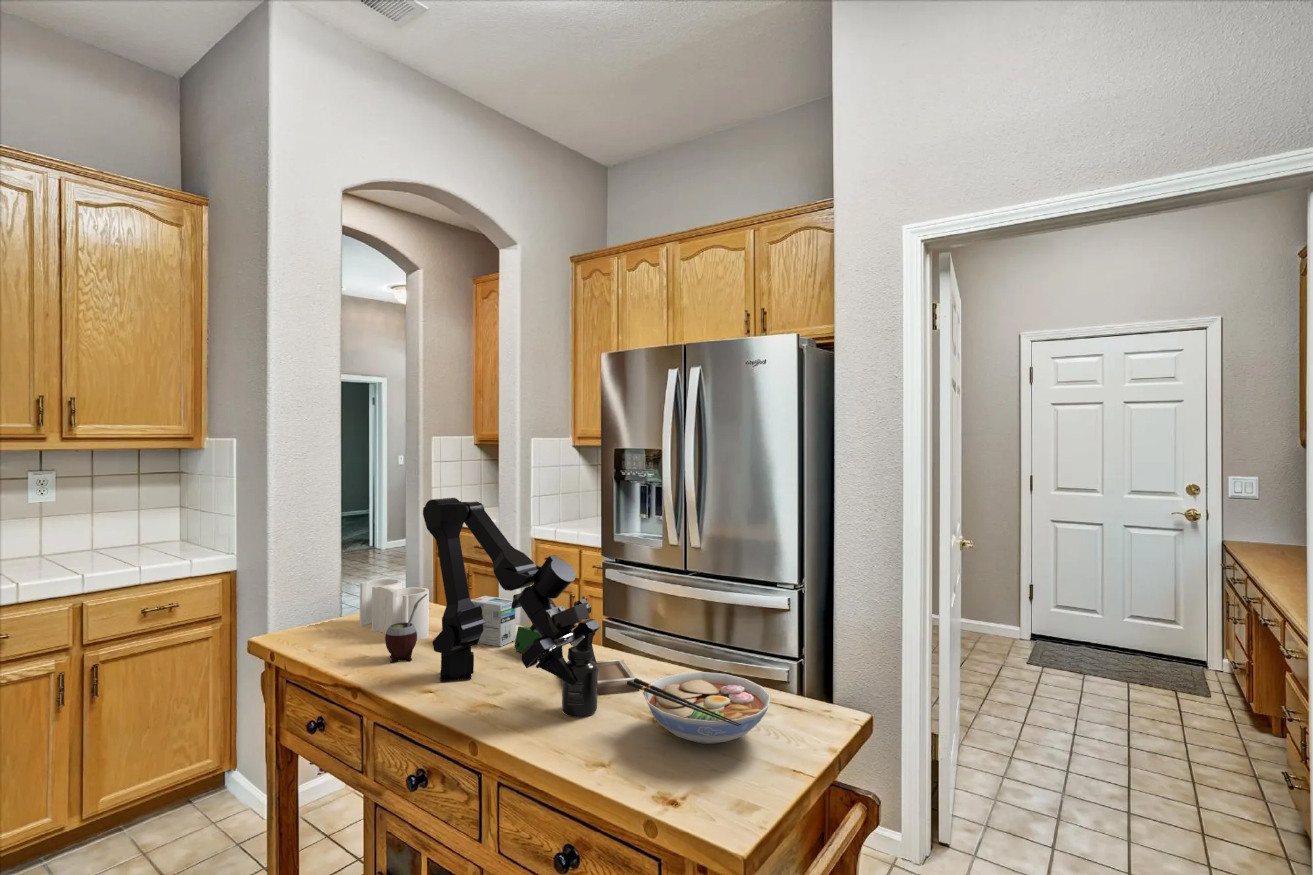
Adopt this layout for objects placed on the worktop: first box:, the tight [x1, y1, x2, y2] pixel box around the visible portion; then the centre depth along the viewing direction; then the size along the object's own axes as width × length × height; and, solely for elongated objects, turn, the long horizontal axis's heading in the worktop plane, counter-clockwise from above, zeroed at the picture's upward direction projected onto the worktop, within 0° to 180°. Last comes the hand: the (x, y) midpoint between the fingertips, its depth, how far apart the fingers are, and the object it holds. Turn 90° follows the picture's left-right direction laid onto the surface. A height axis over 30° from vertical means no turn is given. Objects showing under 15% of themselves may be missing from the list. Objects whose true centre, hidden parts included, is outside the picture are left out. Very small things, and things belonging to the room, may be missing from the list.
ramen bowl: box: [627, 671, 771, 745], centre depth 117 cm, size 25×23×8 cm
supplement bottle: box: [561, 646, 598, 718], centre depth 127 cm, size 7×7×12 cm
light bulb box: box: [470, 595, 517, 647], centre depth 169 cm, size 11×7×11 cm, turn 65°
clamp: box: [514, 626, 541, 653], centre depth 161 cm, size 12×6×9 cm, turn 42°
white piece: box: [359, 577, 430, 642], centre depth 177 cm, size 25×10×12 cm, turn 49°
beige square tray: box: [596, 658, 641, 696], centre depth 142 cm, size 14×14×2 cm
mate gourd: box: [384, 594, 427, 664], centre depth 155 cm, size 8×8×15 cm
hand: (586, 678), depth 126 cm, fingers closed on supplement bottle, 7 cm apart
